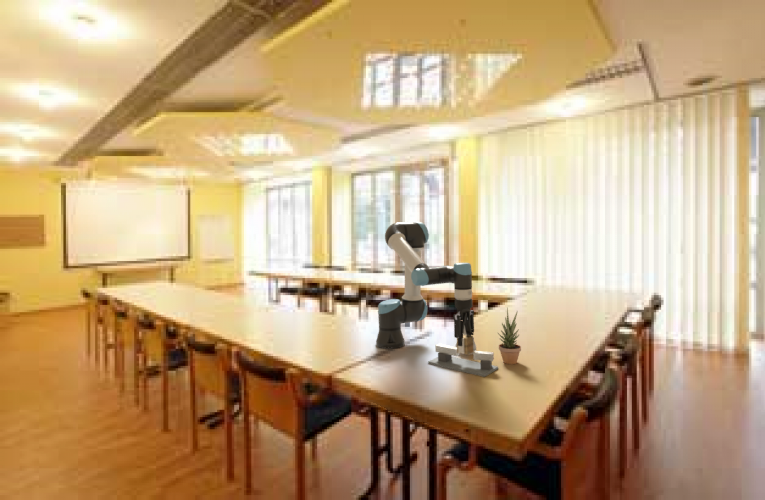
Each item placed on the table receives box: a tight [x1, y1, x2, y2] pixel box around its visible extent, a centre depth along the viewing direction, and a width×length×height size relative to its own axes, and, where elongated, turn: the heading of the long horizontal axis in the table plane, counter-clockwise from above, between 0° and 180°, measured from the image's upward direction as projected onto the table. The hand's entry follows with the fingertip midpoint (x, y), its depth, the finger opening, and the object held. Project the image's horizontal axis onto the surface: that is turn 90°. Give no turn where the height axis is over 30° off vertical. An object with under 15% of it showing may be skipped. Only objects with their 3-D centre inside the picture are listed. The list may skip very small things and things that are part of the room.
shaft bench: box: [427, 352, 499, 378], centre depth 180 cm, size 28×12×4 cm, turn 48°
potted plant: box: [497, 307, 522, 365], centre depth 183 cm, size 10×10×25 cm
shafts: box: [435, 343, 495, 362], centre depth 181 cm, size 27×6×3 cm, turn 48°
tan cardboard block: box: [456, 334, 474, 356], centre depth 179 cm, size 5×5×7 cm
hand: (465, 351), depth 179 cm, fingers closed on tan cardboard block, 5 cm apart
